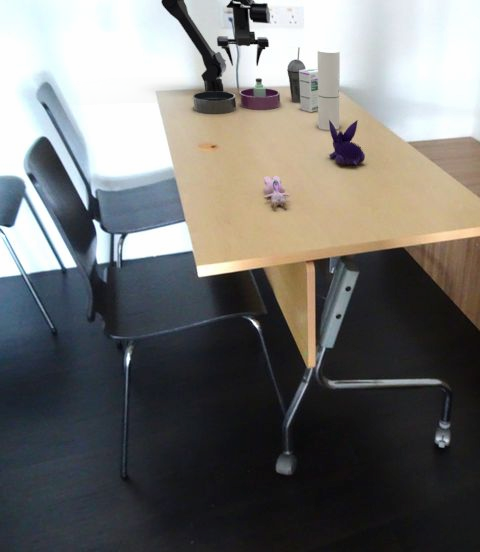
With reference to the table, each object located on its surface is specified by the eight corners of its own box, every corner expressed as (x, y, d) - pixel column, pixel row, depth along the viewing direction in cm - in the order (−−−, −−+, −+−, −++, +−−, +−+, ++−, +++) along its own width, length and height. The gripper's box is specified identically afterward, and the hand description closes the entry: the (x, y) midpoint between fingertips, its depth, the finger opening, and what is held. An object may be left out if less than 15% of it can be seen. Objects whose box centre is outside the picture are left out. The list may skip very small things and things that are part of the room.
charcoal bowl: (185, 111, 202) (183, 96, 200) (213, 103, 214) (211, 89, 211) (218, 118, 198) (217, 103, 195) (244, 109, 209) (243, 95, 207)
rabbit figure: (293, 213, 137) (282, 181, 148) (293, 192, 133) (282, 161, 144) (267, 215, 135) (258, 183, 146) (266, 194, 131) (257, 162, 142)
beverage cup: (286, 99, 226) (283, 45, 216) (303, 98, 229) (302, 45, 218) (291, 103, 220) (289, 49, 210) (309, 102, 223) (308, 49, 213)
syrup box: (311, 112, 211) (310, 72, 204) (299, 109, 214) (298, 69, 207) (321, 110, 215) (321, 70, 208) (310, 106, 218) (309, 67, 211)
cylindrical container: (340, 125, 199) (341, 49, 186) (337, 131, 193) (337, 53, 180) (320, 123, 199) (320, 48, 187) (316, 129, 193) (315, 51, 181)
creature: (347, 149, 177) (347, 110, 170) (370, 169, 163) (372, 127, 157) (320, 152, 173) (319, 112, 167) (342, 172, 159) (342, 129, 153)
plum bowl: (232, 107, 211) (231, 93, 208) (256, 99, 222) (255, 86, 220) (265, 113, 206) (264, 99, 203) (287, 105, 218) (287, 91, 215)
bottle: (252, 105, 213) (250, 79, 208) (259, 102, 216) (257, 77, 211) (261, 107, 211) (260, 80, 206) (268, 104, 215) (267, 78, 210)
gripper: (215, 24, 202) (219, 69, 210) (268, 25, 207) (271, 70, 214) (215, 19, 211) (219, 63, 219) (266, 21, 216) (268, 64, 224)
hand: (244, 65), depth 219 cm, fingers open, 9 cm apart
